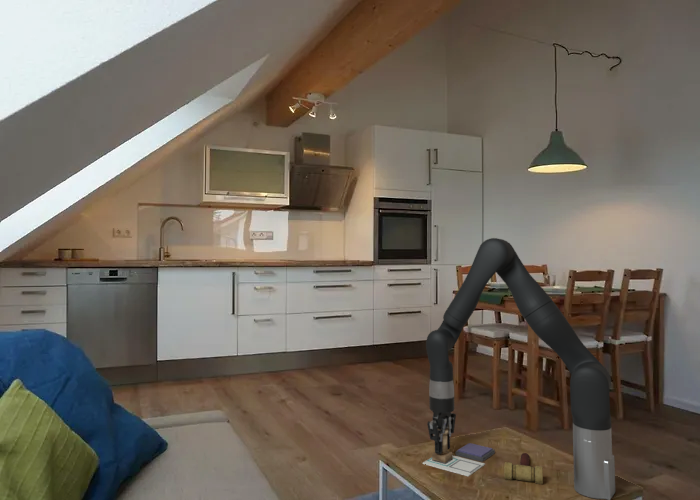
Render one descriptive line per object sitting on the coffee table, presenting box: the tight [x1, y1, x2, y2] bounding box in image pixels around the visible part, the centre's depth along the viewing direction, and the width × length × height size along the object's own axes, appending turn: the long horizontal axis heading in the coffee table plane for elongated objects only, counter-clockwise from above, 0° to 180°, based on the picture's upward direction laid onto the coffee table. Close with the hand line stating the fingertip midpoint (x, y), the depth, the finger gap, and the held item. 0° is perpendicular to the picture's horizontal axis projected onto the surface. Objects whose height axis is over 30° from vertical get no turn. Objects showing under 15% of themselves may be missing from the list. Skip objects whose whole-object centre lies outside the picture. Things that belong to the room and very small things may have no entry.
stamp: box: [431, 429, 453, 464], centre depth 154 cm, size 4×4×9 cm
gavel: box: [503, 452, 544, 485], centre depth 147 cm, size 21×5×10 cm
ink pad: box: [455, 442, 496, 463], centre depth 159 cm, size 9×9×2 cm
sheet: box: [422, 454, 486, 477], centre depth 151 cm, size 15×11×1 cm
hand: (442, 450), depth 154 cm, fingers open, 4 cm apart
